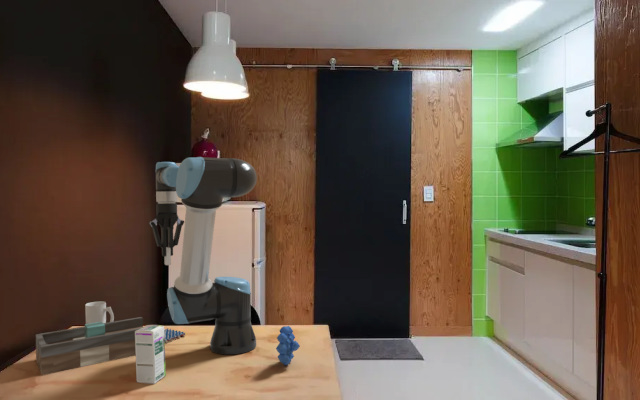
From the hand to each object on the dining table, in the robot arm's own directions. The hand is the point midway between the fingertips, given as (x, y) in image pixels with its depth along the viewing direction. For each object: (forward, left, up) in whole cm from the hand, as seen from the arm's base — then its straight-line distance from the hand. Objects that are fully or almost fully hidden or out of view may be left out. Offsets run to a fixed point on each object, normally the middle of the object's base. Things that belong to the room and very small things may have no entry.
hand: (167, 264), depth 176 cm
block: (-15, +29, -19) cm, 38 cm away
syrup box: (-45, +20, -25) cm, 55 cm away
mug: (+5, +23, -25) cm, 34 cm away
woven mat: (-11, +5, -25) cm, 28 cm away
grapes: (-60, -16, -25) cm, 67 cm away
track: (-15, +28, -24) cm, 40 cm away
